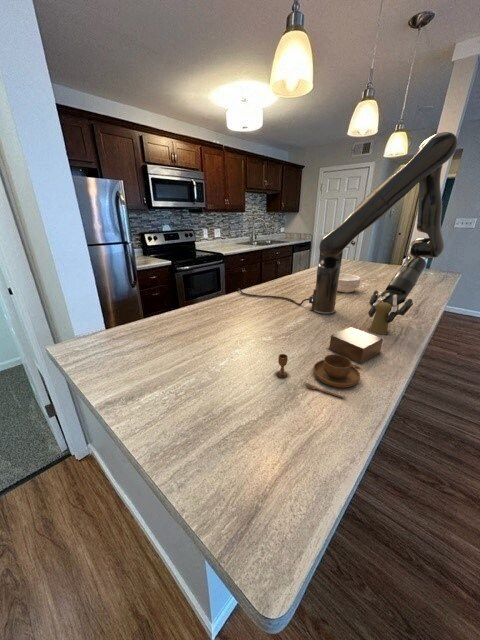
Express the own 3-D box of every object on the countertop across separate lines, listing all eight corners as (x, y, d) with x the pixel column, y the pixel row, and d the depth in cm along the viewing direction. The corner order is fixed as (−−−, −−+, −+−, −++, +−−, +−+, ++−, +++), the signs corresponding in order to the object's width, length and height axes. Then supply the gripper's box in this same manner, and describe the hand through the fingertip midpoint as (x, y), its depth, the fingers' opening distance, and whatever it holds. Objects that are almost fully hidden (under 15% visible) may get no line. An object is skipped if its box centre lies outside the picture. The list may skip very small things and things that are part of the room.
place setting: (352, 403, 61) (356, 382, 59) (274, 376, 71) (275, 358, 69) (363, 367, 75) (367, 349, 73) (297, 349, 85) (298, 333, 82)
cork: (387, 329, 99) (393, 301, 95) (387, 335, 94) (394, 306, 90) (369, 326, 102) (375, 299, 97) (369, 332, 97) (375, 304, 92)
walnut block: (329, 349, 85) (330, 335, 83) (348, 340, 91) (351, 326, 89) (360, 363, 77) (363, 348, 75) (379, 352, 83) (383, 338, 81)
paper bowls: (355, 295, 139) (357, 281, 136) (326, 291, 146) (328, 277, 143) (360, 289, 150) (363, 275, 147) (333, 285, 158) (335, 272, 155)
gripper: (381, 272, 100) (357, 308, 98) (422, 280, 89) (396, 320, 87) (386, 284, 104) (363, 318, 103) (425, 292, 93) (400, 330, 92)
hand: (378, 318), depth 95 cm, fingers open, 6 cm apart
